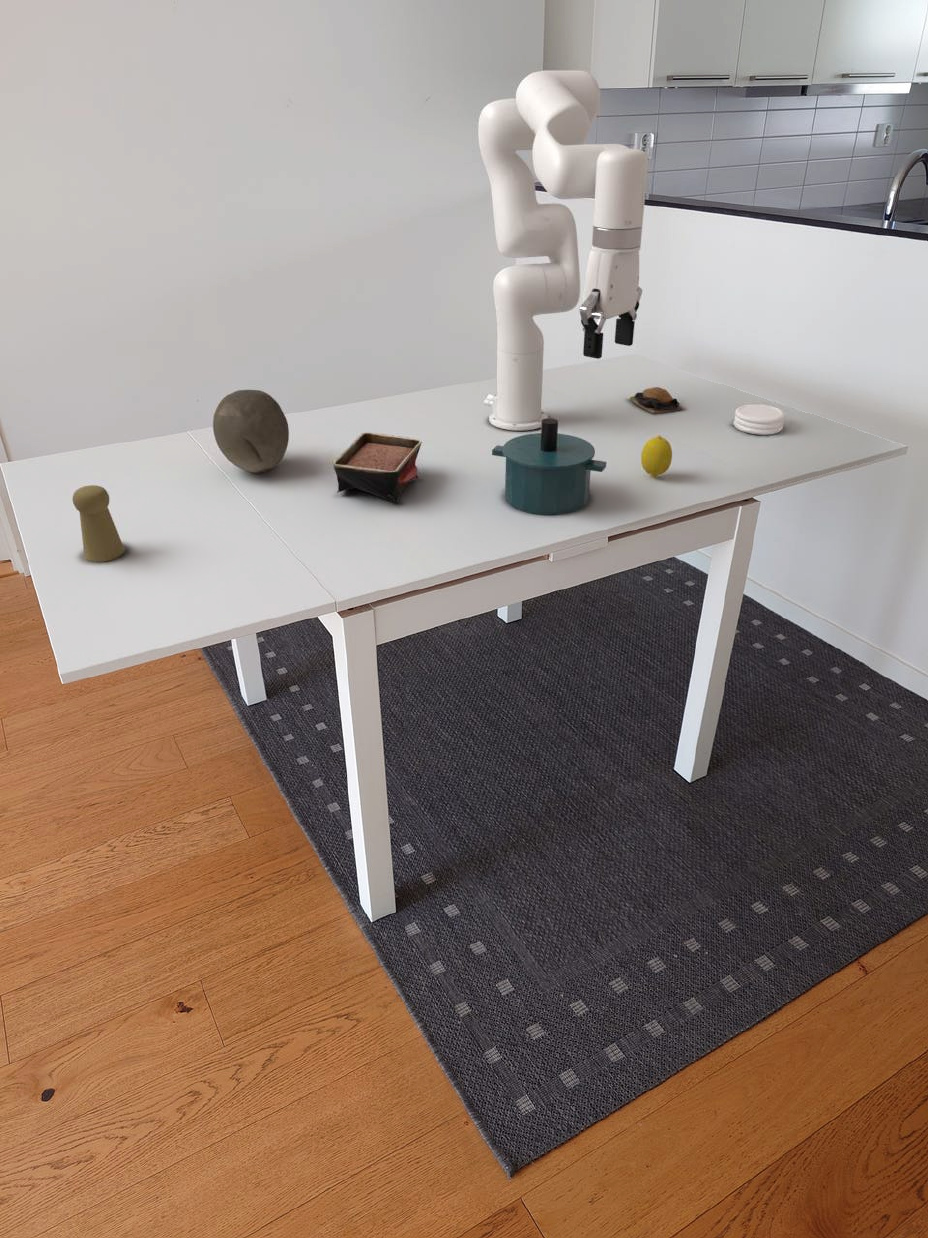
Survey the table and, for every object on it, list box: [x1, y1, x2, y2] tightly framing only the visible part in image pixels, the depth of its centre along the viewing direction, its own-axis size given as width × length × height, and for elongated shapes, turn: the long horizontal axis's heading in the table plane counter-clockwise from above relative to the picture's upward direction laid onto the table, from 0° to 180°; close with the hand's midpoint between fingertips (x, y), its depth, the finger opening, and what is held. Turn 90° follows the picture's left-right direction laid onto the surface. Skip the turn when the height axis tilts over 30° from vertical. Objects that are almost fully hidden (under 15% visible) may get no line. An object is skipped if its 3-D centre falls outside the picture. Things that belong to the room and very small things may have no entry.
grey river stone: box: [212, 389, 290, 474], centre depth 165 cm, size 14×14×15 cm
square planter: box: [332, 432, 423, 505], centre depth 159 cm, size 14×18×10 cm
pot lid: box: [502, 417, 596, 469], centre depth 151 cm, size 16×16×6 cm
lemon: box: [640, 435, 673, 478], centre depth 162 cm, size 6×6×8 cm
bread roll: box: [629, 386, 682, 415], centre depth 198 cm, size 11×8×4 cm
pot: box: [491, 444, 607, 516], centre depth 155 cm, size 15×20×8 cm
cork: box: [72, 484, 126, 563], centre depth 137 cm, size 6×6×11 cm
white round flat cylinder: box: [733, 403, 786, 436], centre depth 185 cm, size 10×10×4 cm
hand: (608, 350), depth 146 cm, fingers open, 9 cm apart
